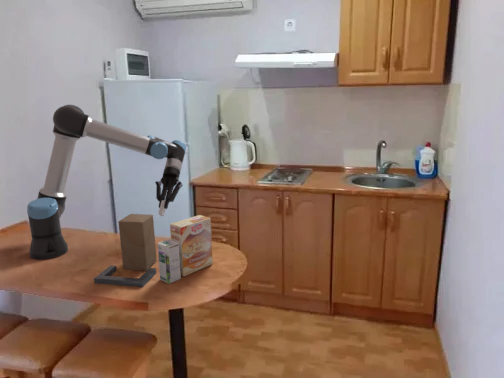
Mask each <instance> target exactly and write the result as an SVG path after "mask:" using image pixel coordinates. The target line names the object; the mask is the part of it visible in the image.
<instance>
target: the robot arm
mask: <svg viewBox="0 0 504 378" xmlns="http://www.w3.org/2000/svg"><path fill="white" fill-rule="evenodd" d="M52 122H53V125H54V126H53V128H52V132H53V135H54V136H55V137H54V141H53V146H52V150H51V155H50V158H49V163H48V168H47V172H46V176H45V181H44V185H43V187H42V188H40V189H39V190H38V194H37V198H36V199H34V200H32V201H29V203H28V204H27V206H26V212H27V216H28V223H29V230H30V234H31V240H30V241H31V242H30V247H29V251H28V252H29V257H30V258H31V259H33V260H48V259H54V258H57V257H61V256H63V255H65V254H66V253H67V252H68V250H69V247H68V243H67V242H66V240H65V238H64V236H63V234H62V228H61V221H60V219H61V217H62V215H63V213H64V211H65V208H66V200H67V198H68V196H67V195H68V194H67V193H66V192H65V190H66V189H65V188H66V185H67V180H68V176H69V172H70V168H71V164H72V159H73V154H74V151H75V148H76V144H77V143H76V142H77V141H79V140H81V138H86V137H89V138H92V139H95V140H98V141H102V142H105V143H107V144H112V145H114V146H117V147H121V148H124V149H126V150H131V151H134V152H137V153H141V154H144V155H147V156H149V157H152V158H153V159H156V160H163V159H165V158H166V162H165V166H164V169H163V173H162V177H161V178H160V180H159V181H155V182H154V183H155V185H156V193H155V194H156V197H155V198H156V200H157V202H159V203H158V208H159V210H158V215H159V216H160V217H164V216H165V213H166V210H167V209H168V207H169V204H170V202H171V203H173V202H175V199H176V197H177V195H178V193H179V191H180V189H181V188H183V185H184V184H183V183H182V182H181V181H180V180H179V179H180V175H181V170H182V168H183V167H182V165H183V162H184V158H185V155H186V150H187V145H186V143H185V142H183V141H182V140H177V139H175V140H172V141H171V142H169V141H167V140H164V139H162V138H159V137H156V136H154V135H150V134H148V135H147V136H144V135H143V134H142V135H141V134H139V133H136V132H133V131H131V130H127V129H124V128H121V127H117V126H115V125H112V124H108V123H105V122H103V121H98V120H96V119H93V118H92V116H90V115H88V114H85V112H84V111H83V110H82V108H80V107H79V106H76V105H74V104H65V105H63V106H60V107H58V108H57V109H55V111H54V113H53V117H52ZM161 186H162V187H161Z"/></svg>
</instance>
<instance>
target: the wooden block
mask: <svg viewBox="0 0 504 378" xmlns="http://www.w3.org/2000/svg"><path fill="white" fill-rule="evenodd" d="M154 223H155V222H154V215H153V214H143V213H141V214H140V213H129V214H128V215H127V216H125V217H123V218H122V219H119V221H118V229H119V230H118V231H119V241H120V250H121V251H120V252H121V260H122V267H123V270H127V271H142V272H144V271H145V272H146V271H147V270H148V269H149V268H152V266H154V264H156V262H157V260H158V259H157V248H156V235H155V224H154Z"/></svg>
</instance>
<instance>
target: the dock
mask: <svg viewBox="0 0 504 378" xmlns="http://www.w3.org/2000/svg"><path fill="white" fill-rule="evenodd" d="M117 271H118V268H117V265H113V264H111V265H109V266H108V267H107V268H105V269H104V270H102V271H101V272H100V273H99V274H98V275H96V276H95V277H94V278H93V280H94V281H93V282H94V284H99V285H109V286H110V285H112V286H126V287H137V288H144V287H145V285H146V284H147V283H148V282H149V281H150V280H151V279H152V278H153V277H154V276H155V275H156V274H157V269H156V268H154V267H150V268H149V269H148V270H147V271H145V272H144V273H143V274H141V276H140V277H126V276H125V277H124V276H112V275H113V274H115V273H116V272H117Z"/></svg>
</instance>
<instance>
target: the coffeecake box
mask: <svg viewBox="0 0 504 378" xmlns="http://www.w3.org/2000/svg"><path fill="white" fill-rule="evenodd" d="M211 221H212V219H211V217H209V216H206V215H201V214H198V215H195V216H191V217H188V218H185V219H182V220H179V221H175V222H172V223H170V224H169V232H170V240H172V241H175V242H178V243H179V258H180V274H181V276H182V277H185V276H188V275H190V274H192V273H196V272H197V271H199V270H201V269H204V268H206V267H208V266H209V267H210V266H211V265H213V242H212V239H213V238H212V222H211Z"/></svg>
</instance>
